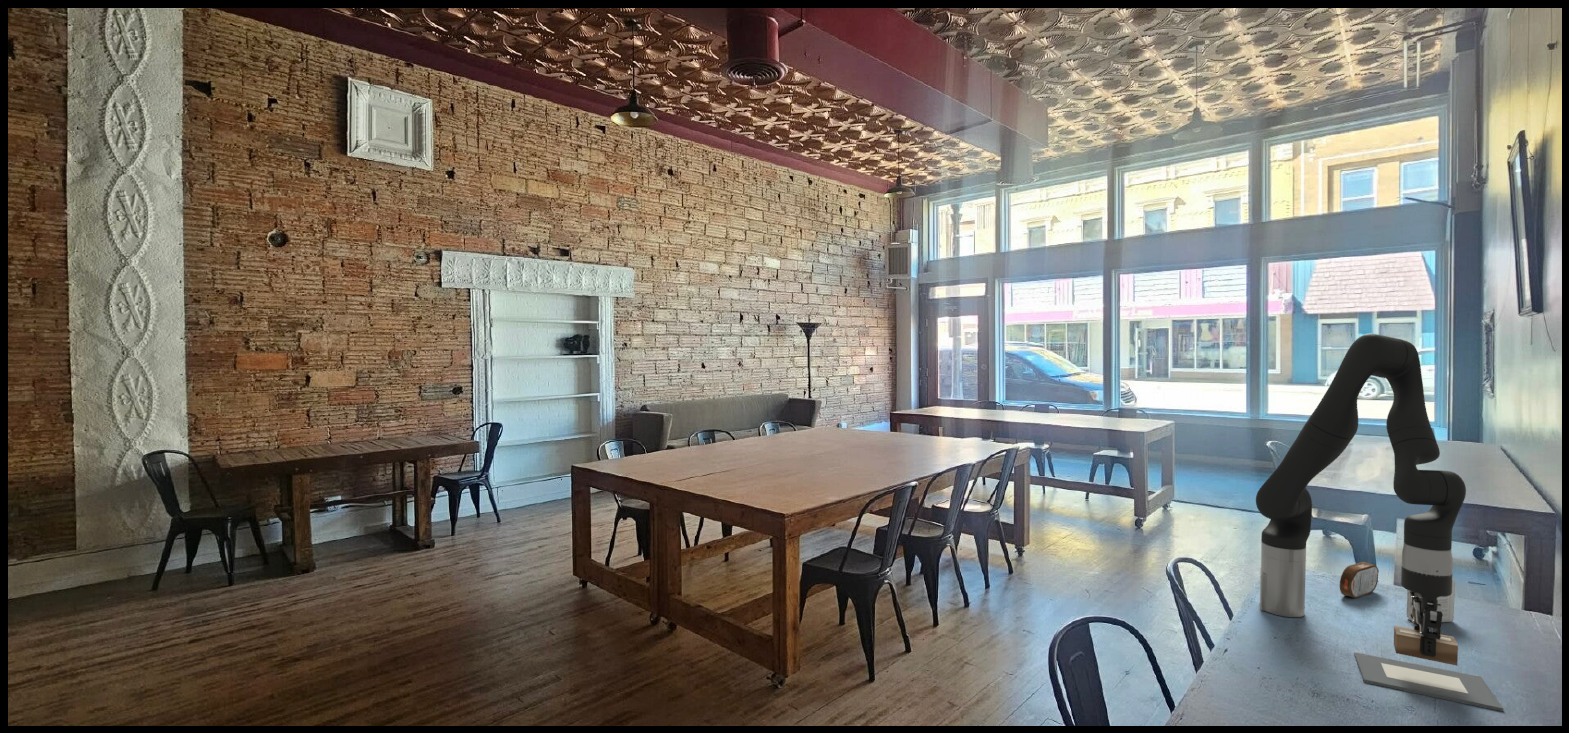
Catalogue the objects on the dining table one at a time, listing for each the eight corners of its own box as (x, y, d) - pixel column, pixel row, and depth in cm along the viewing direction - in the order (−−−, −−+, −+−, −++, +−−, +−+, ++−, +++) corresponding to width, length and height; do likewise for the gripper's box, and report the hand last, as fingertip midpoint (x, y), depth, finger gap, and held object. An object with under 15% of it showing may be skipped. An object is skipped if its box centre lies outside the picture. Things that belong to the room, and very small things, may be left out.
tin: (1366, 588, 188) (1367, 558, 188) (1380, 592, 185) (1381, 561, 185) (1337, 598, 182) (1338, 567, 181) (1351, 602, 179) (1352, 570, 178)
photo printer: (1438, 615, 170) (1439, 567, 169) (1457, 622, 166) (1459, 572, 165) (1402, 618, 168) (1404, 569, 168) (1421, 625, 164) (1422, 575, 164)
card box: (1457, 665, 133) (1458, 645, 133) (1395, 653, 139) (1396, 633, 139) (1453, 656, 137) (1453, 636, 137) (1393, 644, 143) (1394, 625, 142)
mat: (1363, 682, 138) (1364, 678, 138) (1354, 655, 150) (1354, 651, 150) (1503, 711, 127) (1503, 708, 127) (1481, 679, 138) (1481, 676, 138)
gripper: (1462, 582, 129) (1459, 669, 130) (1442, 561, 141) (1440, 641, 142) (1409, 575, 133) (1407, 659, 134) (1395, 555, 145) (1393, 632, 146)
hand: (1424, 649), depth 138 cm, fingers closed on card box, 5 cm apart
